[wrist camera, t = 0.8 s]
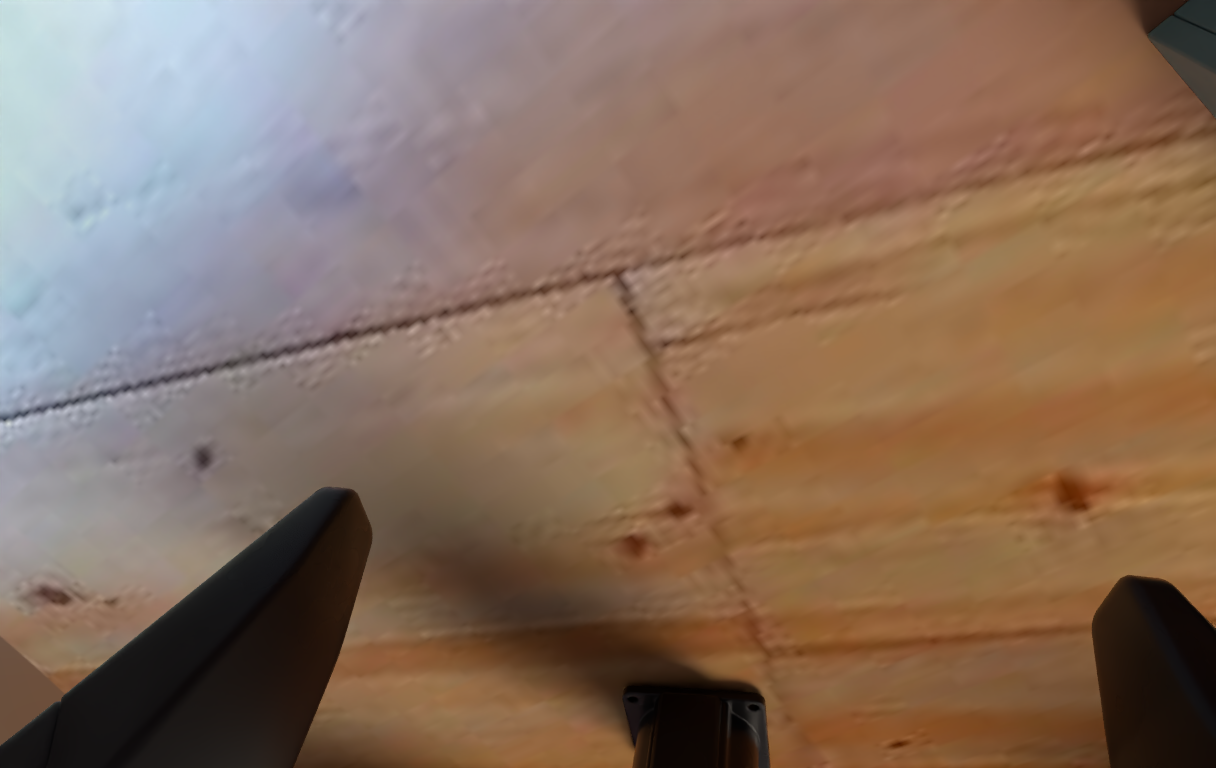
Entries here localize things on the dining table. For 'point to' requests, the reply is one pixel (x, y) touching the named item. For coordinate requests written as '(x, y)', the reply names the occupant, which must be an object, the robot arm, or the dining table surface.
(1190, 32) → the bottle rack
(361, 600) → the dining table surface
